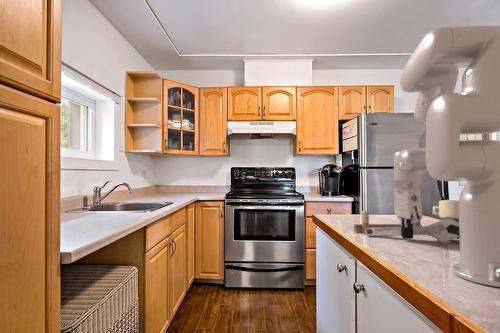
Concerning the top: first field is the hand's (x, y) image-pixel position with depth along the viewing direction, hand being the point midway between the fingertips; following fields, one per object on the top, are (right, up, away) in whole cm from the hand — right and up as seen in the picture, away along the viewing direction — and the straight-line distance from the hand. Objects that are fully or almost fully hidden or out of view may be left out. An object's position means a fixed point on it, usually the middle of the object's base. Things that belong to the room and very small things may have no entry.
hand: (407, 238), depth 96 cm
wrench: (+2, -1, +1) cm, 2 cm away
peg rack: (0, -1, +13) cm, 13 cm away
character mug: (+15, 0, -1) cm, 15 cm away
